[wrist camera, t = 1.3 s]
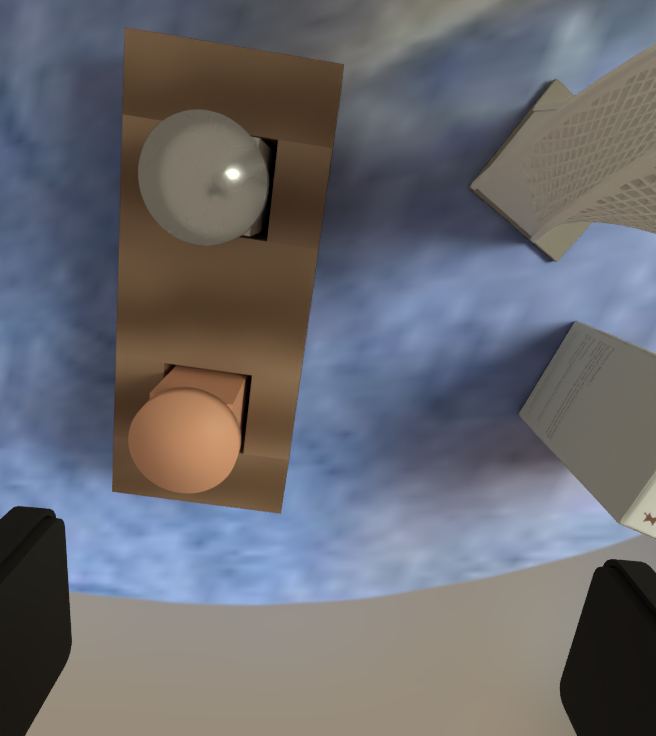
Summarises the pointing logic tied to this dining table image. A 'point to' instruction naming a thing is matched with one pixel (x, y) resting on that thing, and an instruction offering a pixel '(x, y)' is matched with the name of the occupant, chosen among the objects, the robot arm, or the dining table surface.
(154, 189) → the plug
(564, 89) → the skyscraper
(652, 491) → the supplement box
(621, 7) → the dining table surface
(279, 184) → the plug block
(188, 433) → the terracotta plug
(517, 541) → the dining table surface
